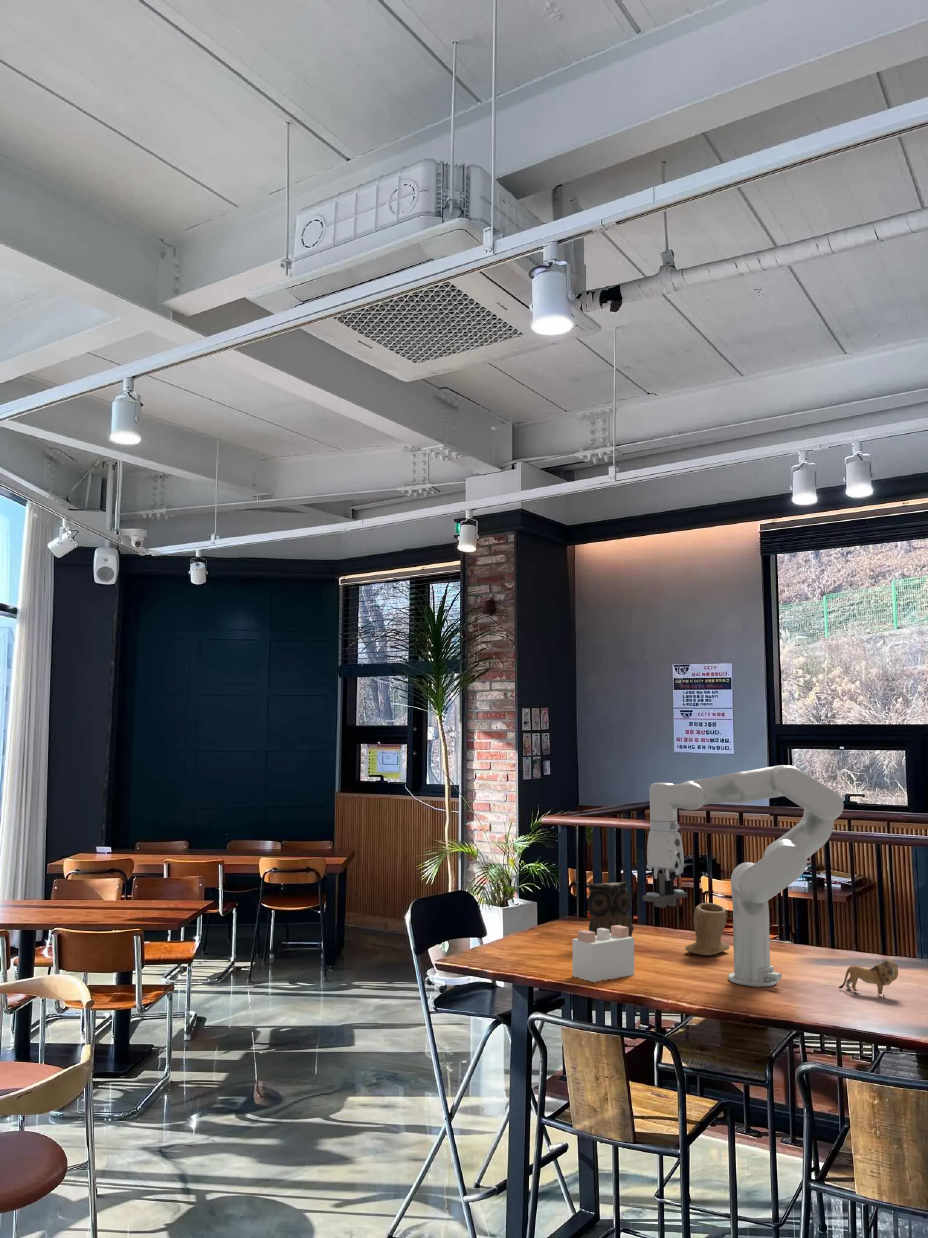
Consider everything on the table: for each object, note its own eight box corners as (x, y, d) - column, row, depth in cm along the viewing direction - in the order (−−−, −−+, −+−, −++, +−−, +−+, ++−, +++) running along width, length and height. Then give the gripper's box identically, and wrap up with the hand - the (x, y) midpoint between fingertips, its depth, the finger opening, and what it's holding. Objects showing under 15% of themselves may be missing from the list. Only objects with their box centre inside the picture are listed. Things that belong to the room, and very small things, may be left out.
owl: (635, 945, 299) (634, 881, 302) (616, 952, 289) (616, 886, 292) (599, 940, 307) (599, 877, 309) (580, 946, 297) (580, 882, 299)
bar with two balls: (688, 904, 264) (687, 872, 265) (651, 909, 255) (651, 876, 257) (678, 902, 267) (677, 871, 268) (641, 907, 258) (641, 875, 260)
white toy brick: (634, 975, 262) (633, 928, 263) (592, 982, 252) (592, 934, 254) (613, 969, 268) (613, 924, 270) (572, 976, 259) (572, 929, 260)
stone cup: (714, 960, 280) (713, 909, 282) (680, 954, 289) (679, 904, 291) (740, 953, 291) (739, 903, 293) (706, 947, 299) (705, 898, 301)
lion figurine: (899, 995, 244) (898, 959, 246) (899, 1000, 240) (897, 963, 241) (839, 988, 251) (838, 953, 252) (837, 992, 246) (836, 957, 247)
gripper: (695, 828, 260) (696, 897, 258) (651, 824, 273) (652, 889, 270) (676, 830, 256) (678, 899, 253) (633, 825, 268) (634, 891, 266)
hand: (665, 893), depth 262 cm, fingers closed on bar with two balls, 2 cm apart
